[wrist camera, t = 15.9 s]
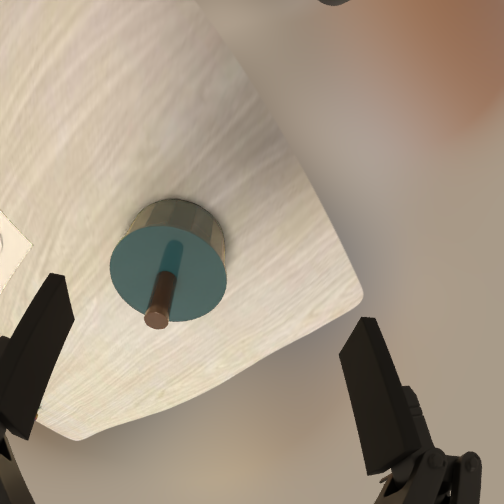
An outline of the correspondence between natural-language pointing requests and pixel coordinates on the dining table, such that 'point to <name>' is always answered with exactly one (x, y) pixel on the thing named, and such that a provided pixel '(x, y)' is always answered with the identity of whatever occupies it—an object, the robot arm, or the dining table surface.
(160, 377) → the dining table surface
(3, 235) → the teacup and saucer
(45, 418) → the dining table surface
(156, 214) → the bowl
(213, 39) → the dining table surface
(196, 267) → the lid
